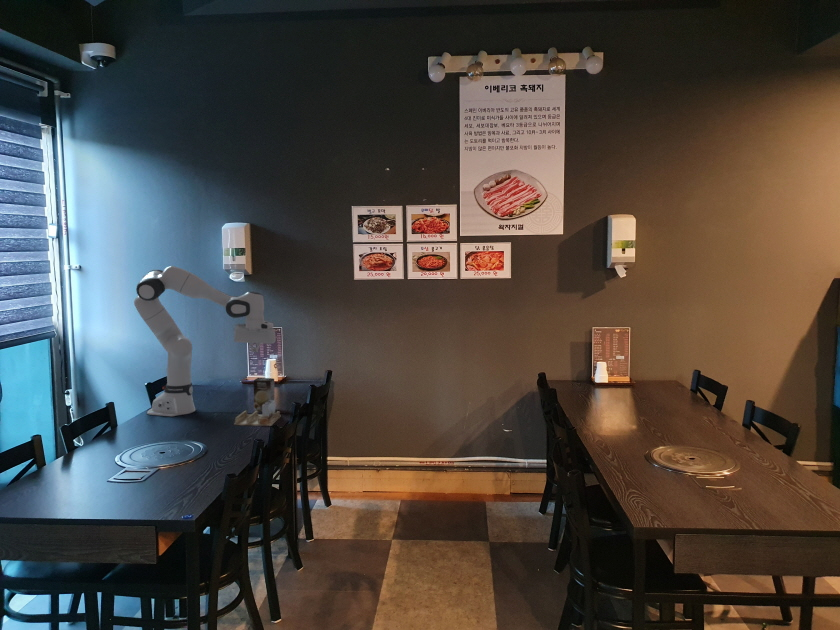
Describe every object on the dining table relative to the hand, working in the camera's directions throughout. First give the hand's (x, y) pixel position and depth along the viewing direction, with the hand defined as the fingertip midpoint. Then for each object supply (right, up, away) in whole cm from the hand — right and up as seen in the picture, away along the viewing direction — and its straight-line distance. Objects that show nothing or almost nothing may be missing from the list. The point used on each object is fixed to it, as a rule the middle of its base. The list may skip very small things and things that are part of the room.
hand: (254, 351), depth 295 cm
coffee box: (+3, -30, +6) cm, 31 cm away
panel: (+10, -31, -13) cm, 35 cm away
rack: (+5, -32, -12) cm, 35 cm away
